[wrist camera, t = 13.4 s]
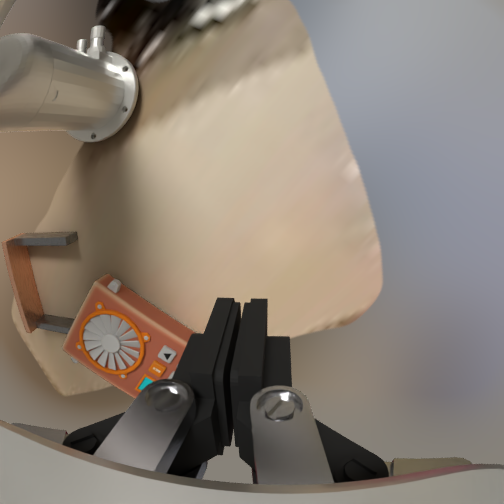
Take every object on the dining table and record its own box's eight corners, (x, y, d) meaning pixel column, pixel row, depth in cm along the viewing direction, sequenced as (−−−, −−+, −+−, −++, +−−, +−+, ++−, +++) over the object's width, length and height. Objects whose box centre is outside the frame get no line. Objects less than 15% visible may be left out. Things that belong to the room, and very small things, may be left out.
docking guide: (20, 233, 42) (1, 242, 38) (76, 231, 41) (57, 241, 37) (41, 319, 48) (26, 332, 43) (96, 327, 47) (82, 343, 42)
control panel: (236, 365, 39) (180, 434, 40) (233, 343, 46) (183, 408, 47) (96, 273, 36) (55, 356, 37) (113, 264, 43) (73, 338, 43)
